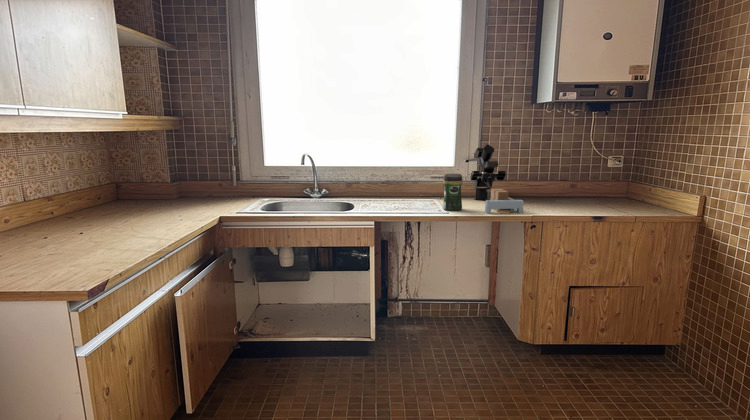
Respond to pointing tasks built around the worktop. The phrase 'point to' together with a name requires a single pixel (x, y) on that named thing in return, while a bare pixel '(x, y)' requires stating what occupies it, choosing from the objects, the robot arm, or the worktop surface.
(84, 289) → the worktop surface
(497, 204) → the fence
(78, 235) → the worktop surface
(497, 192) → the tan stepped block
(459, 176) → the coffee jar
